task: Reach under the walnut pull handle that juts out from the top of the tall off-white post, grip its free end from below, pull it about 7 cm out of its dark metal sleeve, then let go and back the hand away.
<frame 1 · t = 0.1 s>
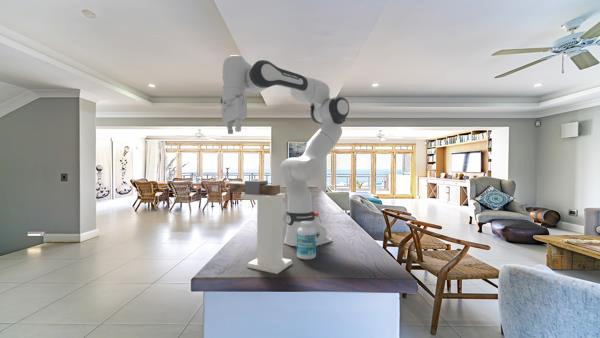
hand: (234, 132, 107), 48 cm above the table, tool pointing down, fingers open, 8 cm apart
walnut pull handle: (254, 188, 98), point 27 cm above the table, slide at 0.0 cm
pill bottle: (306, 257, 105), on the table
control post: (263, 264, 97), on the table
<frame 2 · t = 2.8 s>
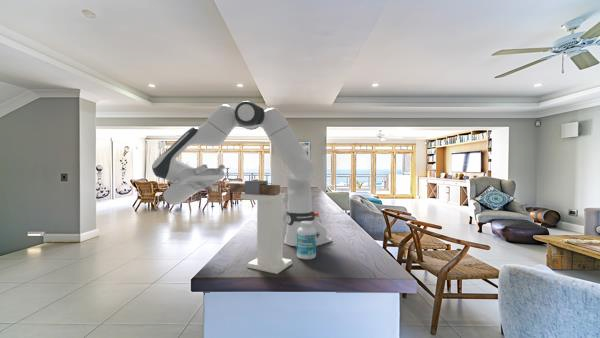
hand: (214, 166, 107), 35 cm above the table, tool pointing upward, fingers open, 8 cm apart
nothing on the table moved.
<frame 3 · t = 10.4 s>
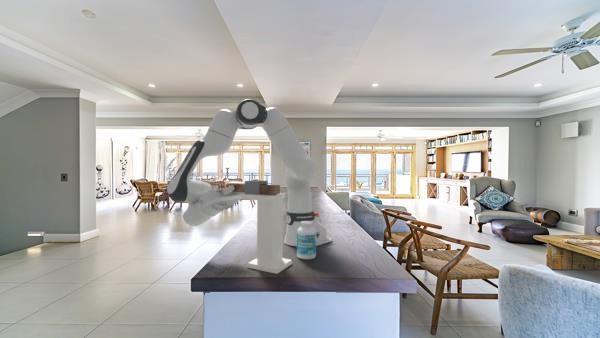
hand: (238, 186, 101), 27 cm above the table, tool pointing upward, fingers closed on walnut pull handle, 3 cm apart
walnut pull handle: (254, 188, 98), point 27 cm above the table, slide at 0.0 cm, touching gripper
everything else where it was.
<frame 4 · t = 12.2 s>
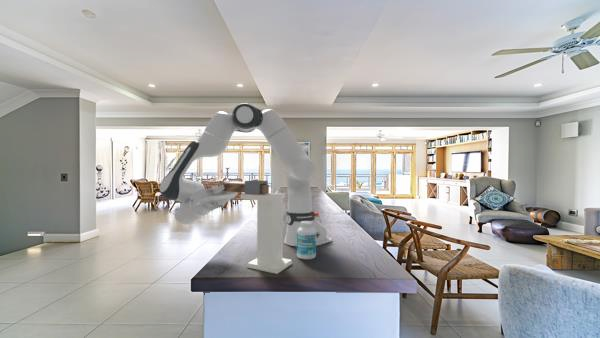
hand: (228, 185, 104), 27 cm above the table, tool pointing upward, fingers closed on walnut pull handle, 3 cm apart
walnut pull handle: (243, 187, 100), point 27 cm above the table, slide at 4.7 cm, touching gripper
everything else where it was.
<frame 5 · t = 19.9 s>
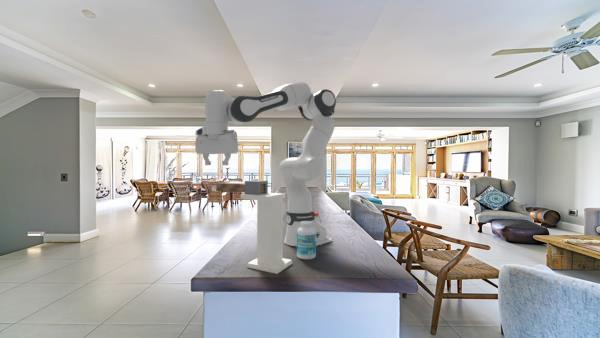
hand: (216, 165, 110), 35 cm above the table, tool pointing down, fingers open, 8 cm apart
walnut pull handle: (239, 187, 101), point 27 cm above the table, slide at 6.8 cm
everything else where it was.
at the end: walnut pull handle slide at 6.8 cm; the gripper is holding nothing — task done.
